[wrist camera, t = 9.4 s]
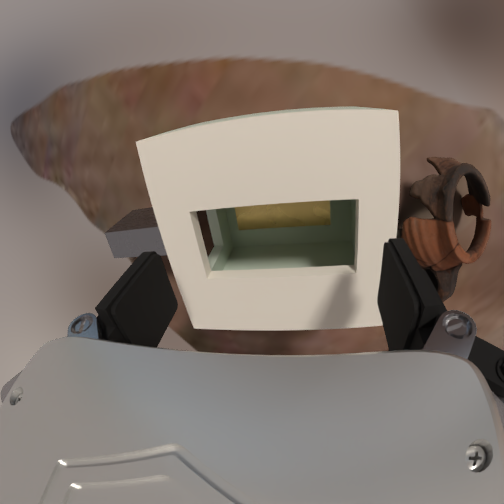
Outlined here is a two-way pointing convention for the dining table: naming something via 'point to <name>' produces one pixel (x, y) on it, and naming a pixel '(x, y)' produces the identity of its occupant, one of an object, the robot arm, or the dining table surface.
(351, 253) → the cream slotted box
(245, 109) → the dining table surface
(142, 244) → the block
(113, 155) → the dining table surface
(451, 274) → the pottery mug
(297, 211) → the block
